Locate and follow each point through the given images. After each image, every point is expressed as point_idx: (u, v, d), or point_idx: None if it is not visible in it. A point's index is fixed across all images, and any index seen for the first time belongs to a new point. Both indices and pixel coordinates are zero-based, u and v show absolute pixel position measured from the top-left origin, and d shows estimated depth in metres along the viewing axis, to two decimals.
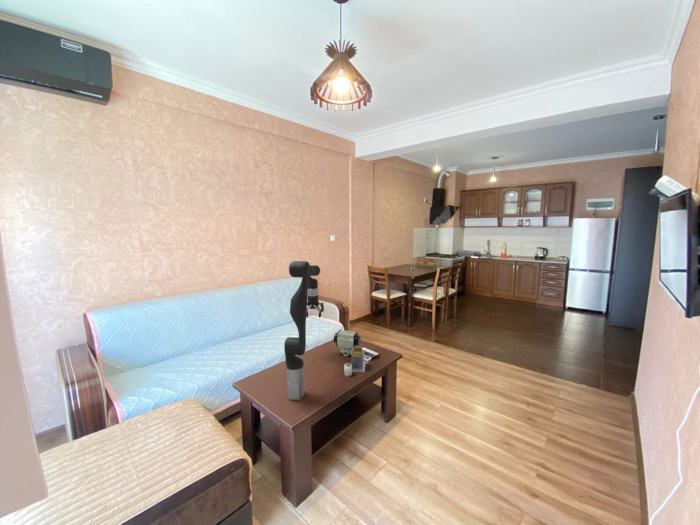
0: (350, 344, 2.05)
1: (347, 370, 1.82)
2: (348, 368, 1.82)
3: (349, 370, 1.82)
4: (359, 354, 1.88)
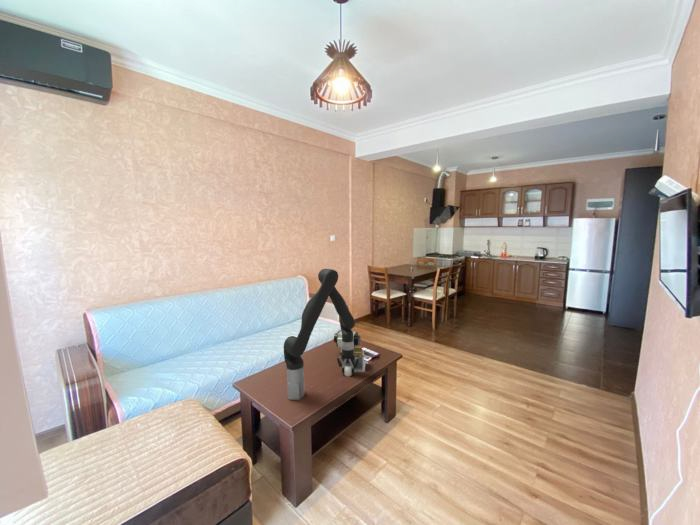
0: None
1: (347, 370, 1.82)
2: (348, 368, 1.82)
3: (349, 370, 1.82)
4: (359, 354, 1.88)
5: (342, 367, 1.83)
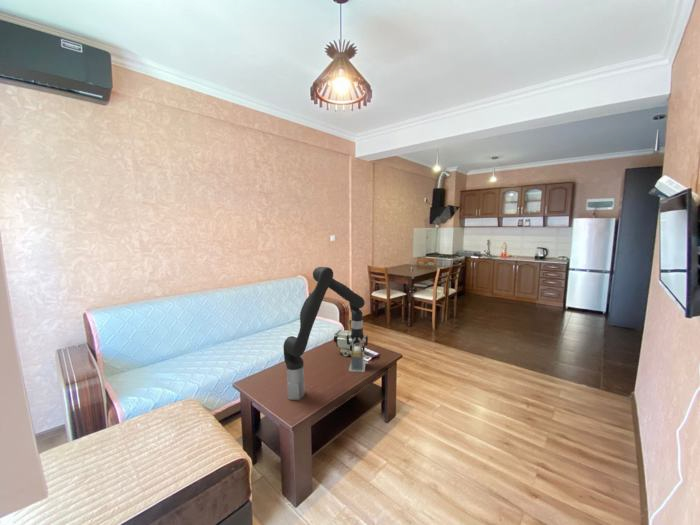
0: None
1: (356, 350, 1.89)
2: (357, 348, 1.89)
3: (358, 350, 1.89)
4: (359, 354, 1.88)
5: (350, 345, 1.91)
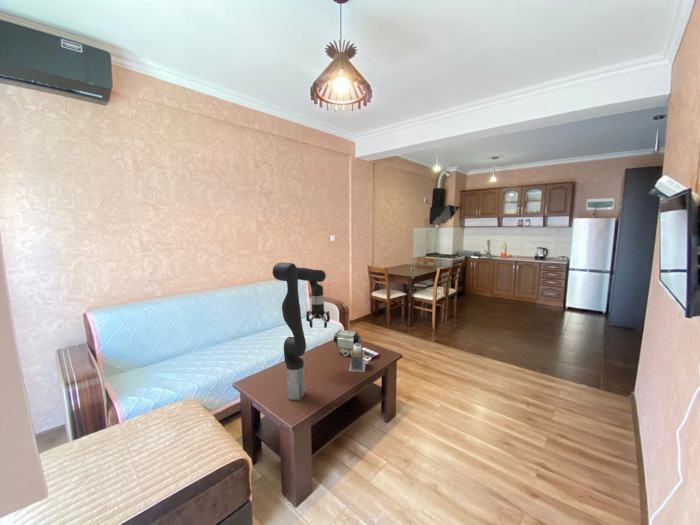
0: (350, 344, 2.05)
1: (356, 350, 1.89)
2: (357, 348, 1.89)
3: (358, 350, 1.89)
4: (359, 354, 1.88)
5: (309, 321, 1.81)
